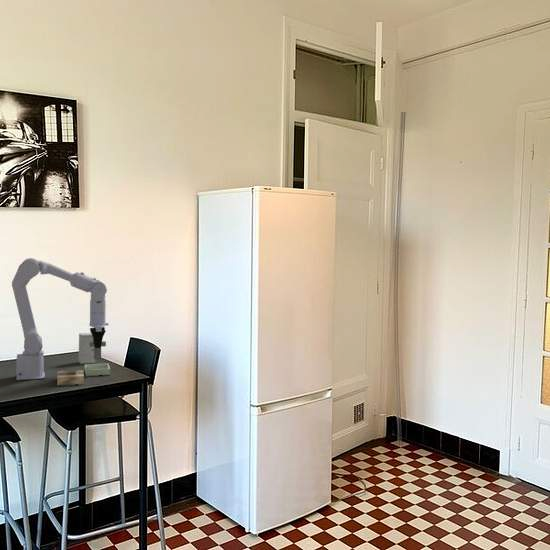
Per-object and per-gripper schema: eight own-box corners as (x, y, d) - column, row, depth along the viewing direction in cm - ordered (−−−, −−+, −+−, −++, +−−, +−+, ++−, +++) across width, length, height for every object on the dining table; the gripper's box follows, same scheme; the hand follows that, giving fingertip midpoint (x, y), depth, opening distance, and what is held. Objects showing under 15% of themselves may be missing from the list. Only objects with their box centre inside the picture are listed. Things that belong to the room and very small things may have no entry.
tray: (85, 376, 222) (85, 369, 222) (84, 370, 231) (84, 364, 231) (110, 375, 226) (110, 368, 225) (108, 369, 234) (108, 363, 234)
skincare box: (81, 364, 241) (81, 335, 240) (78, 362, 245) (78, 333, 244) (96, 362, 245) (96, 334, 244) (93, 360, 249) (93, 332, 248)
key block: (57, 385, 209) (57, 377, 209) (57, 379, 217) (57, 371, 217) (83, 384, 212) (83, 375, 212) (83, 377, 220) (83, 370, 220)
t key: (89, 359, 226) (89, 342, 225) (89, 358, 228) (89, 341, 227) (105, 359, 228) (105, 342, 227) (105, 357, 230) (105, 341, 230)
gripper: (110, 314, 221) (109, 350, 222) (107, 309, 234) (106, 342, 236) (90, 315, 218) (90, 351, 220) (88, 309, 232) (88, 343, 233)
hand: (97, 347), depth 227 cm, fingers closed on t key, 3 cm apart
